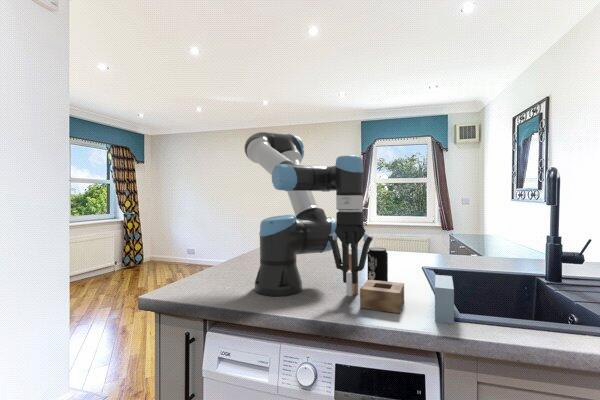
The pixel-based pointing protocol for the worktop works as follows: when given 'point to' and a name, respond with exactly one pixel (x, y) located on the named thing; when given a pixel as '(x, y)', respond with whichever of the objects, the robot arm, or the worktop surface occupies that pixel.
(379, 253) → the beverage can
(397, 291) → the socket block
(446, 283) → the wall
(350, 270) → the dowel
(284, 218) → the robot arm
